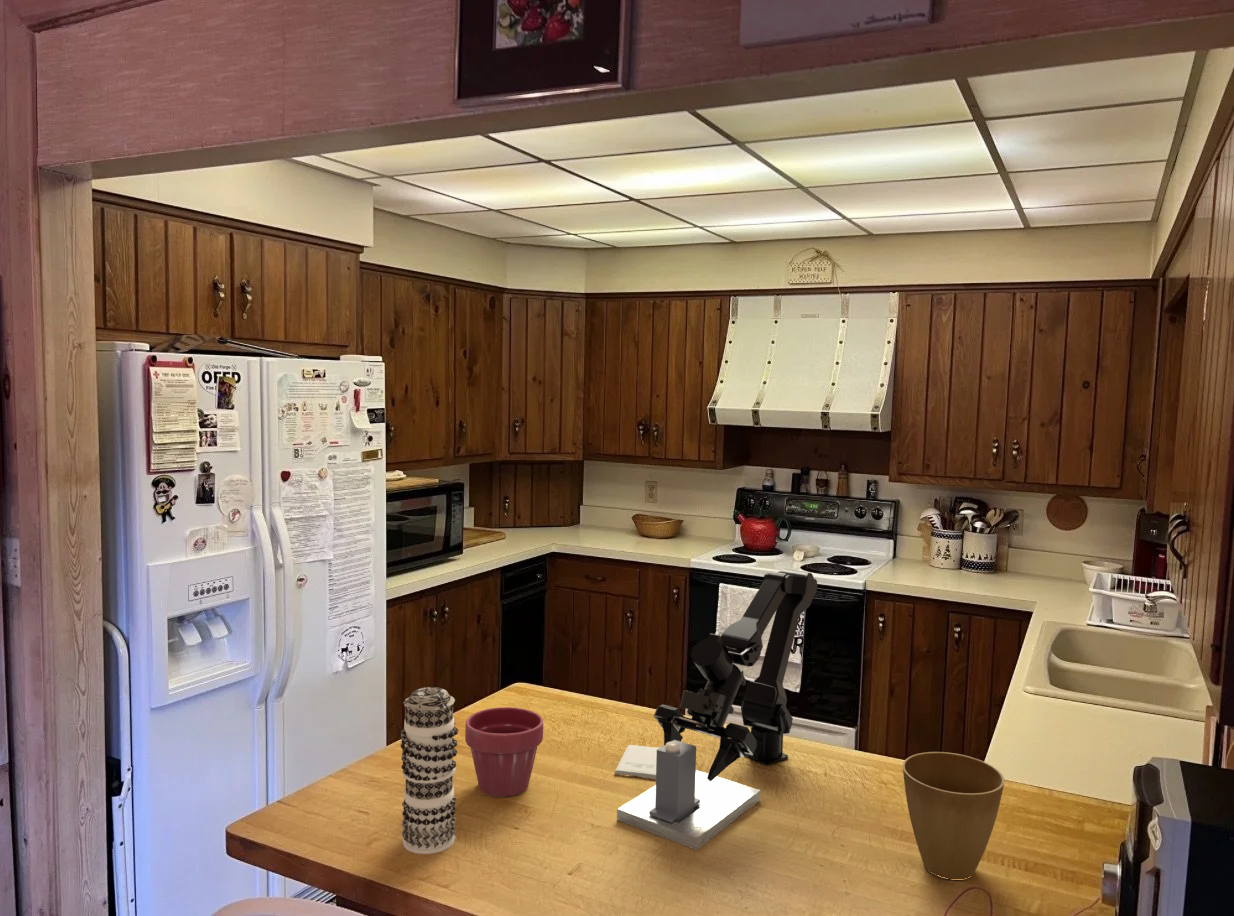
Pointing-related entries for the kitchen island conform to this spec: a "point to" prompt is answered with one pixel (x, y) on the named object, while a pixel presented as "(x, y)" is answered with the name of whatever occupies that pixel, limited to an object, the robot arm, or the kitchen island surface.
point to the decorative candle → (429, 771)
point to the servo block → (675, 782)
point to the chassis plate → (709, 818)
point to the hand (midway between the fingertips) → (686, 772)
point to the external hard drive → (638, 762)
